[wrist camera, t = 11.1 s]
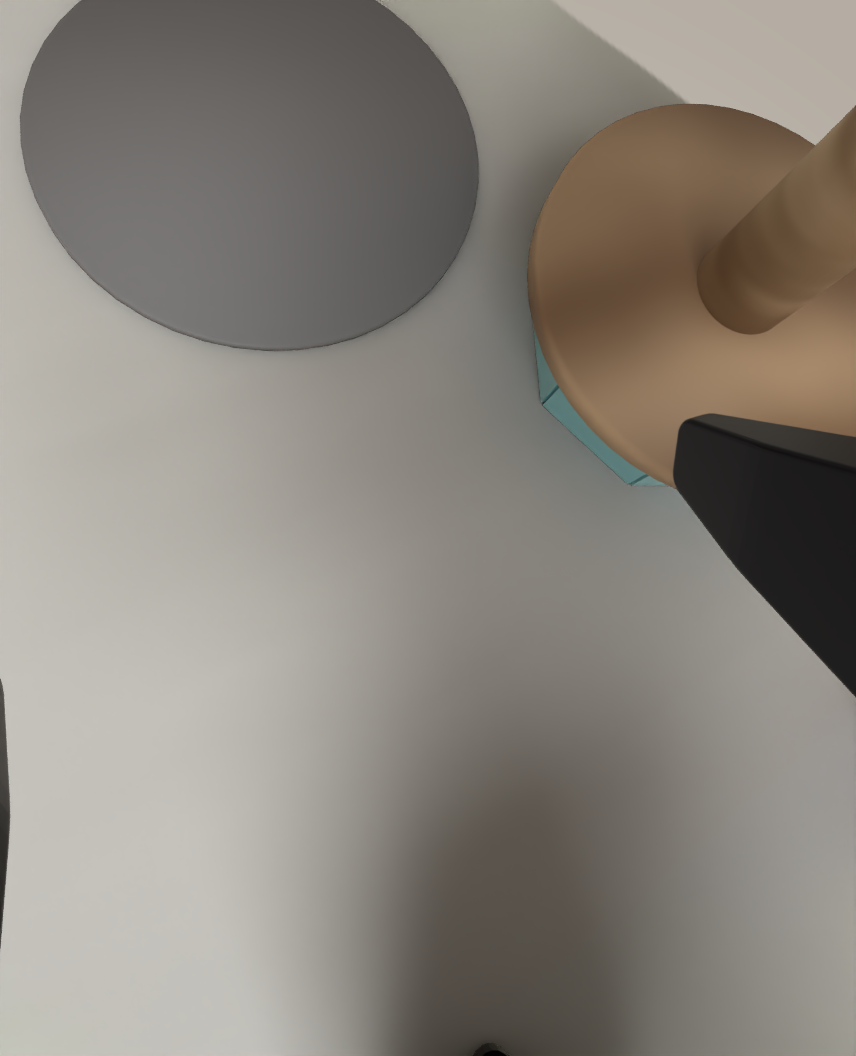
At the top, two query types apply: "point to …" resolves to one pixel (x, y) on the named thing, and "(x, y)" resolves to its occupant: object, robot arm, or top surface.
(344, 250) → the mat
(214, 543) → the top surface
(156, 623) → the top surface
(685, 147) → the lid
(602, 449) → the bowl
